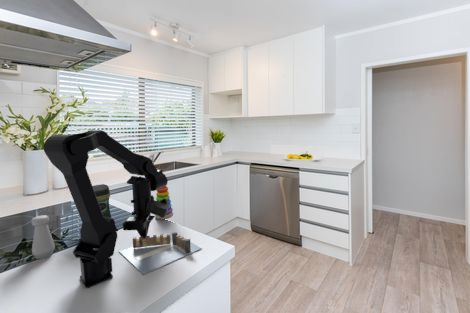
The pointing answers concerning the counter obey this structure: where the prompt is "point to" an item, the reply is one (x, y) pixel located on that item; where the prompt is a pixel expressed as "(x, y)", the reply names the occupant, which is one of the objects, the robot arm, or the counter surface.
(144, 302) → the counter surface
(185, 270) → the counter surface
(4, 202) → the counter surface
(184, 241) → the fixed fence section
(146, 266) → the card
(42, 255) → the salt shaker
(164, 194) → the stacking toy
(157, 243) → the folding fence panel
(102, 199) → the coffee jar
